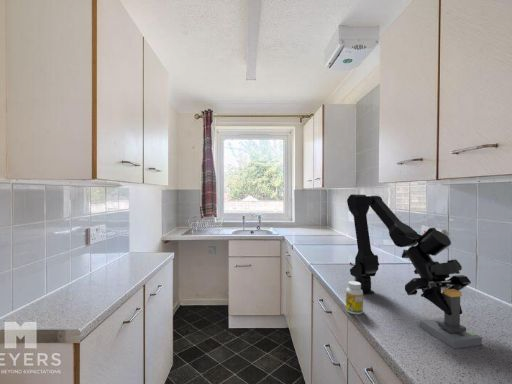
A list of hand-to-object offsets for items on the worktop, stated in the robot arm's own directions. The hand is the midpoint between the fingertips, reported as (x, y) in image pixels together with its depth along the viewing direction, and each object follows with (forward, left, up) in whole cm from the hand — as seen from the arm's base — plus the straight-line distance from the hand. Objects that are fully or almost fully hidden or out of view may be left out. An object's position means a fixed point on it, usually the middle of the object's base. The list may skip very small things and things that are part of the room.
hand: (455, 314), depth 73 cm
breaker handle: (-1, 0, -4) cm, 5 cm away
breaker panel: (-2, 0, -7) cm, 7 cm away
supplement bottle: (-21, -18, -7) cm, 28 cm away
